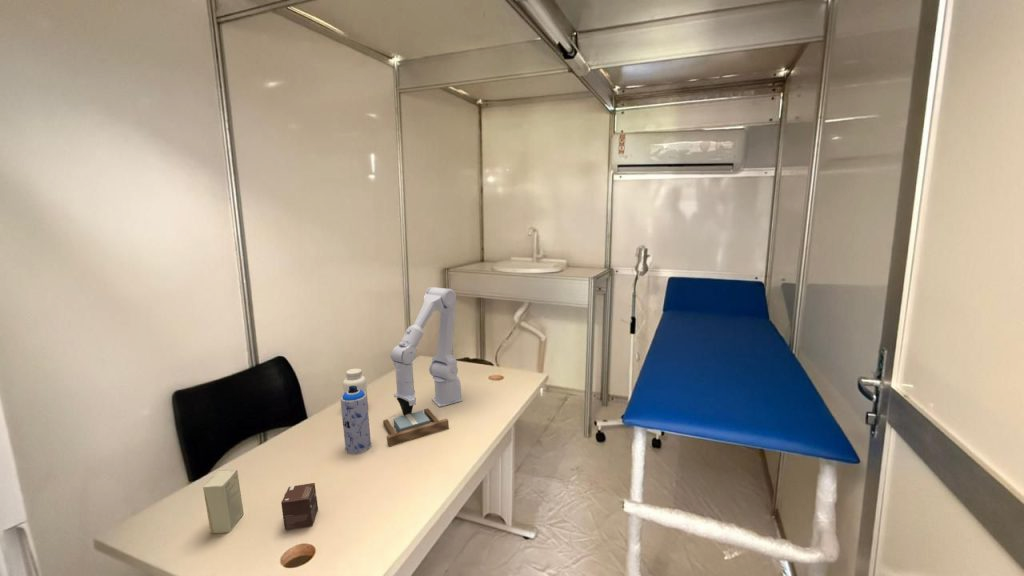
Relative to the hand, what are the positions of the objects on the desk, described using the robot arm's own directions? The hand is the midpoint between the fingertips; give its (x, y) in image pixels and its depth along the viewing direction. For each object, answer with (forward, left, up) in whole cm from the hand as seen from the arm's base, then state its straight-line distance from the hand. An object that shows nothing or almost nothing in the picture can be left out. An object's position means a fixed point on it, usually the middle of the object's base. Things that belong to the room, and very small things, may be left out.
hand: (407, 416), depth 144 cm
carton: (0, +5, -2) cm, 6 cm away
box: (+36, +32, -2) cm, 49 cm away
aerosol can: (+18, +7, -2) cm, 20 cm away
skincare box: (+51, +24, -2) cm, 57 cm away
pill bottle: (+13, -20, -2) cm, 24 cm away
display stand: (0, +5, -2) cm, 6 cm away
